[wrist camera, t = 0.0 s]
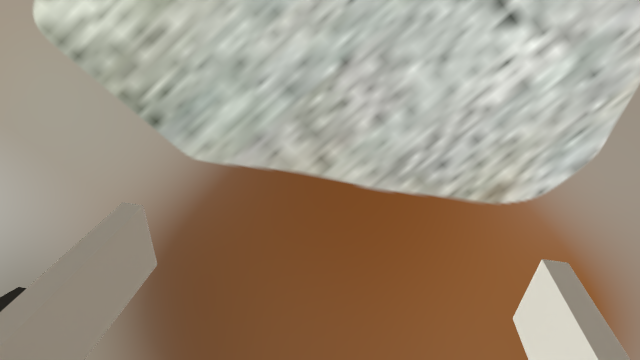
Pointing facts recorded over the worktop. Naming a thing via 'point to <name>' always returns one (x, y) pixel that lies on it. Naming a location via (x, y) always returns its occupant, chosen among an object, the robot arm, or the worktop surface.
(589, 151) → the worktop surface
